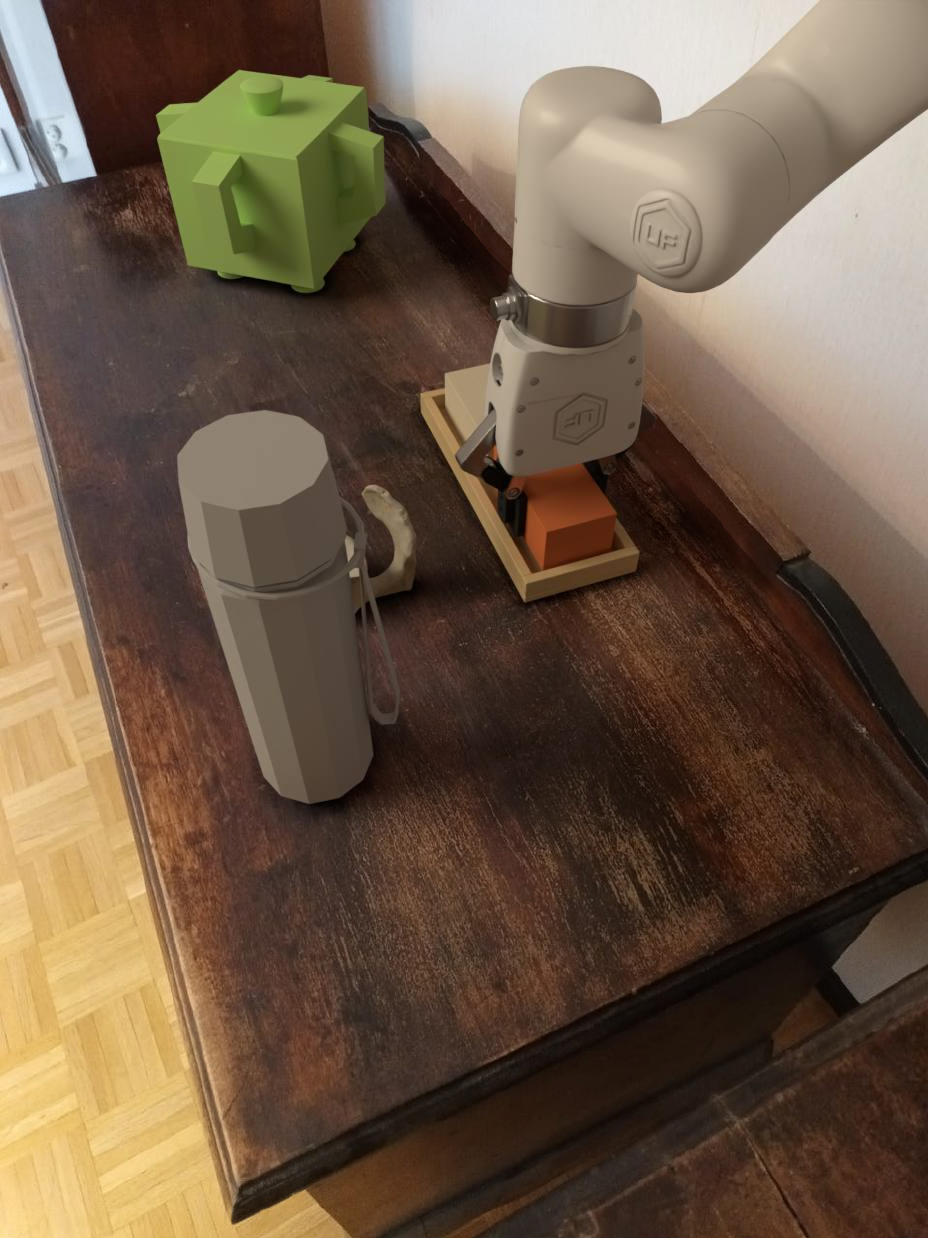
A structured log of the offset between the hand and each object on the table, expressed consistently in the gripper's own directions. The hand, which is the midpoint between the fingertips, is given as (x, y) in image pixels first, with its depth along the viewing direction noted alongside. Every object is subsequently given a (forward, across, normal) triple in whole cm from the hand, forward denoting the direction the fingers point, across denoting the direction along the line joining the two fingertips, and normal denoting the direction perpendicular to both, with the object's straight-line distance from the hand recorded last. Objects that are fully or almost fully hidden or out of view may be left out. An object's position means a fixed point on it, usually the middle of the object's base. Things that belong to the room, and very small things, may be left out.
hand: (550, 512), depth 70 cm
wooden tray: (+2, 0, +6) cm, 6 cm away
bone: (+2, -16, -1) cm, 16 cm away
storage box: (+2, -10, +47) cm, 48 cm away
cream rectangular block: (+1, 0, +11) cm, 11 cm away
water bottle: (+2, -21, -14) cm, 26 cm away
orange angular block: (0, 0, 0) cm, 0 cm away
